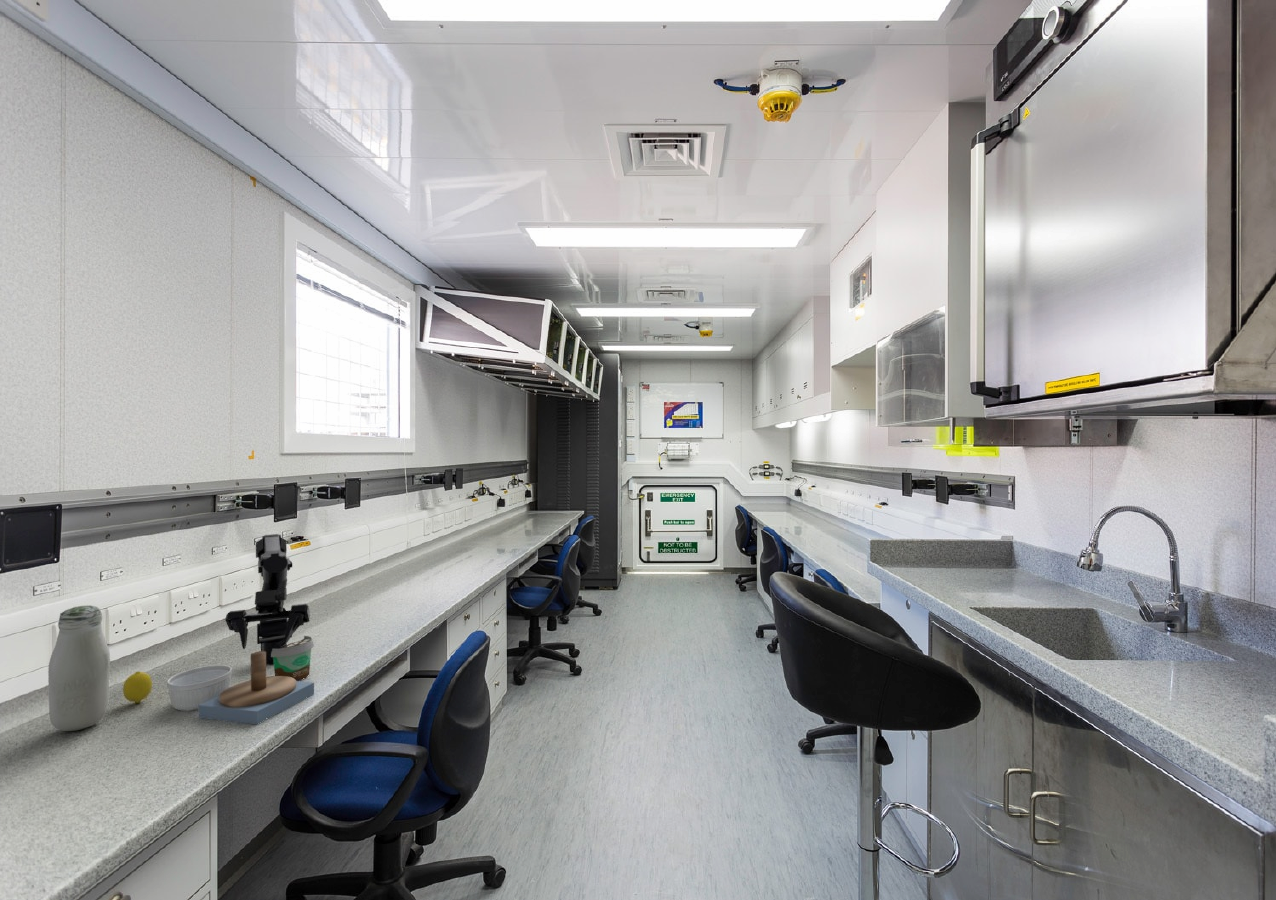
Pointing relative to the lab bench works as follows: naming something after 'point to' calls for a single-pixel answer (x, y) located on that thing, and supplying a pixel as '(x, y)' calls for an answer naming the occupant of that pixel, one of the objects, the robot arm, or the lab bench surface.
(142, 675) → the lemon
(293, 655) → the food container
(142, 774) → the lab bench surface
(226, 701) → the lid
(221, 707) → the mat
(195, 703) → the ramekin
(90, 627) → the glass bottle
